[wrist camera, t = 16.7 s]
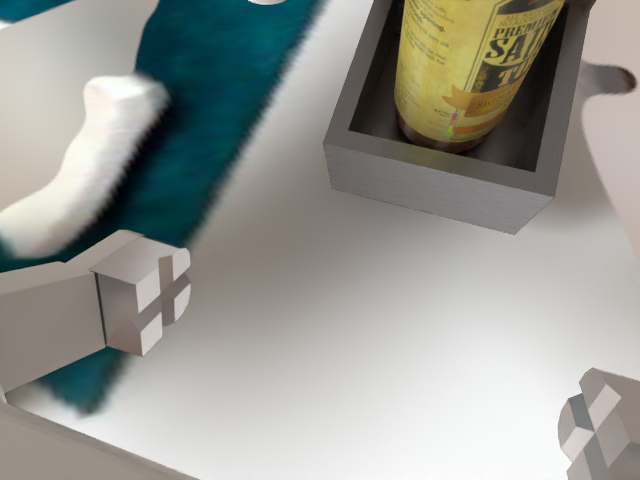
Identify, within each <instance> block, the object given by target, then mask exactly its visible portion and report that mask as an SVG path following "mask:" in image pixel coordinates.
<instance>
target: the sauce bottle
mask: <svg viewBox="0 0 640 480" xmlns="http://www.w3.org/2000/svg"><path fill="white" fill-rule="evenodd" d="M564 2H565V0H405V5H404V13H403V22H402V30H401V38H400V46H399V54H398V63H397V71H396V82H395V90H394V100H395V104H396V109H395V110H396V120H397V123H398V126H399V128H400V129H401V131H402V132H403V134H404V135H405V136H406V137H407V138H408V139H409V140H410V141H411V143H413V144H415V145H417V146H419V147H424V148H428V149H432V150H437V151H441V152H446V153H450V154H456V153H459V152H462V151H465V150H468V149H470V148H472V147H474V146H476V145H477V144H479V143H481V142H482V141H484V139H485V138H486V137H487V136H488V135H489V134H490V133H492V131H493V130H494V128H495V127H496V126H497V125H498V123H499V122H500V121H501V120H502V118H503V117H504V115H505V113H506V111H507V109H508V107H509V105H510V103H511V102H512V100H513V98H514V96H515V94H516V92H517V90H518V89H519V87H520V85H521V83H522V81H523V79H524V77H525V75H526V74H527V72H528V70H529V68H530V66H531V64H532V62H533V60H534V59H535V57H536V55H537V53H538V51H539V49H540V47H541V45H542V44H543V42H544V40H545V38H546V36H547V34H548V33H549V31H550V29H551V27H552V25H553V24H554V22H555V20H556V18H557V16H558V14H559V12H560V10H561V8H562V6H563V4H564Z"/></svg>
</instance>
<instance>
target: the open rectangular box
mask: <svg viewBox="0 0 640 480" xmlns="http://www.w3.org/2000/svg"><path fill="white" fill-rule="evenodd" d="M591 2H592V0H565V2H564V4H563V6H562V8H561V10H560V12H559V14H558V16H557V18H556V20H555V22H554V24H553V25H552V27H551V29H550V31H549V33H548V34H547V36H546V38H545V40H544V42H543V44H542V45H541V47H540V49H539V51H538V53H537V55H536V57H535V59H534V60H533V62H532V64H531V66H530V68H529V70H528V72H527V74H526V75H525V77H524V79H523V81H522V83H521V85H520V87H519V89H518V90H517V92H516V94H515V96H514V98H513V100H512V102H511V103H510V105H509V107H508V109H507V111H506V113H505V115H504V117H503V118H502V120H501V121H500V122H499V123H498V125H497V126H496V127H495V128H494V130H493V131H492V133H490V134H489V135H488V136H487V137H486V138H485V139H484V141H482V142H481V143H479V144H477V145H476V146H474V147H472V148H470V149H468V150H465V151H462V152H459V153H456V154H450V153H446V152H441V151H437V150H432V149H428V148H424V147H419V146H417V145H415V144H413V143H411V141H410V140H409V139H408V138H407V137H406V136H405V135H404V134H403V132H402V131H401V129H400V128H399V126H398V123H397V120H396V110H395V109H396V104H395V100H394V90H395V82H396V71H397V63H398V54H399V46H400V38H401V30H402V22H403V13H404V5H405V0H374V2H373V4H372V7H371V10H370V13H369V16H368V18H367V21H366V24H365V27H364V30H363V32H362V35H361V38H360V41H359V44H358V46H357V49H356V52H355V55H354V58H353V60H352V63H351V66H350V69H349V72H348V74H347V77H346V80H345V83H344V86H343V88H342V91H341V94H340V97H339V100H338V102H337V105H336V108H335V111H334V114H333V116H332V119H331V122H330V125H329V128H328V131H327V133H326V136H325V139H324V142H323V146H324V151H325V156H326V161H327V166H328V171H329V176H330V181H331V186H332V189H336V190H340V191H344V192H348V193H352V194H356V195H360V196H364V197H367V198H371V199H375V200H379V201H383V202H387V203H391V204H395V205H399V206H403V207H407V208H411V209H415V210H419V211H422V212H426V213H430V214H434V215H438V216H442V217H446V218H450V219H454V220H458V221H462V222H466V223H470V224H473V225H477V226H481V227H485V228H489V229H493V230H497V231H501V232H505V233H509V234H513V235H515V234H516V233H517V232H518V231H519V230H520V229H521V228H522V227H523V226H524V225H525V224H526V223H527V222H529V221H530V220H531V219H532V218H533V217H534V216H535V215H536V214H537V213H538V212H539V211H540V210H541V209H542V208H544V207H545V206H546V205H547V204H548V203H549V202H550V201H551V200H552V199H553V198H554V197H555V191H556V186H557V181H558V176H559V170H560V165H561V160H562V154H563V149H564V144H565V139H566V133H567V128H568V123H569V118H570V112H571V107H572V102H573V97H574V91H575V86H576V81H577V76H578V70H579V65H580V60H581V55H582V49H583V44H584V39H585V33H586V28H587V23H588V18H589V12H590V7H591Z"/></svg>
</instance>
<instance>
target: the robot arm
mask: <svg viewBox="0 0 640 480" xmlns="http://www.w3.org/2000/svg"><path fill="white" fill-rule="evenodd" d="M189 267H190V252H189V251H188V250H187V249H186V248H184V247H181V246H178V245H175V244H171V243H168V242H165V241H162V240H159V239H156V238H153V237H149V236H145V235H143V234H139V233H136V232H133V231H129V230H118V231H117V232H115V233H113V234H112V235H110V236H109V237H107V238H105V239H104V240H102V241H100V242H99V243H97V244H96V245H94V246H92V247H91V248H89V249H87V250H86V251H84V252H83V253H81V254H79V255H78V256H76V257H74V258H73V259H71V260H70V261H68V262H66V263H62V262H59V261H58V262H53V263H48V264H43V265H38V266H33V267H28V268H23V269H18V270H13V271H8V272H3V273H0V480H199V479H197V478H194V477H192V476H189V475H186V474H184V473H181V472H179V471H176V470H174V469H171V468H169V467H166V466H164V465H161V464H159V463H156V462H154V461H151V460H149V459H146V458H144V457H141V456H139V455H136V454H133V453H131V452H128V451H126V450H123V449H121V448H118V447H116V446H113V445H111V444H108V443H106V442H103V441H101V440H98V439H96V438H93V437H91V436H88V435H86V434H83V433H80V432H78V431H75V430H73V429H70V428H68V427H65V426H63V425H60V424H58V423H55V422H53V421H50V420H48V419H45V418H43V417H40V416H38V415H35V414H33V413H30V412H27V411H25V410H22V409H20V408H17V407H15V406H12V405H10V404H8V403H7V400H6V397H5V395H4V393H6V392H9V391H11V390H13V389H15V388H17V387H20V386H22V385H24V384H26V383H28V382H31V381H33V380H35V379H37V378H39V377H42V376H44V375H46V374H48V373H50V372H53V371H55V370H57V369H59V368H61V367H64V366H66V365H68V364H70V363H72V362H75V361H77V360H79V359H81V358H83V357H85V356H88V355H90V354H92V353H94V352H96V351H99V350H101V349H103V348H105V345H106V346H109V347H113V348H116V349H119V350H122V351H125V352H128V353H132V354H135V355H138V356H141V357H143V356H144V355H145V354H146V353H147V352H148V351H149V350H150V349H151V348H152V346H153V345H154V344H155V343H156V342H157V341H158V340H159V339H160V338H161V337H162V327H164V326H166V325H169V324H172V323H175V322H176V321H177V320H178V318H179V317H180V316H181V315H182V314H183V312H184V310H185V308H186V306H187V304H188V302H189V297H190V292H191V282H190V281H189V279H188V277H187V276H186V274H185V273H184V272H185V271H186V270H187V269H188V268H189ZM579 384H580V387H581V390H582V393H581V394H579V395H576V396H574V397H571V398H568V400H567V402H566V403H565V405H564V407H563V408H562V410H561V413H560V418H559V422H558V438H559V443H560V447H561V450H562V451H563V452H564V453H565V455H566V456H567V457H568V458H569V459H570V461H571V462H572V464H571V466H570V467H569V469H568V470H567V471H566V472H567V476H568V480H640V381H638V380H635V379H631V378H628V377H624V376H621V375H617V374H614V373H610V372H607V371H603V370H600V369H596V368H591V369H590V370H588V371H587V372H585V374H584V375H583V377H582V378H581V380H580V381H579Z"/></svg>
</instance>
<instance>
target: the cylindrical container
mask: <svg viewBox="0 0 640 480" xmlns="http://www.w3.org/2000/svg"><path fill="white" fill-rule="evenodd" d="M248 1H251V2H253V3H257V4H263V5H270V4H277V3H281V2H284V1H286V0H248Z"/></svg>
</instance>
